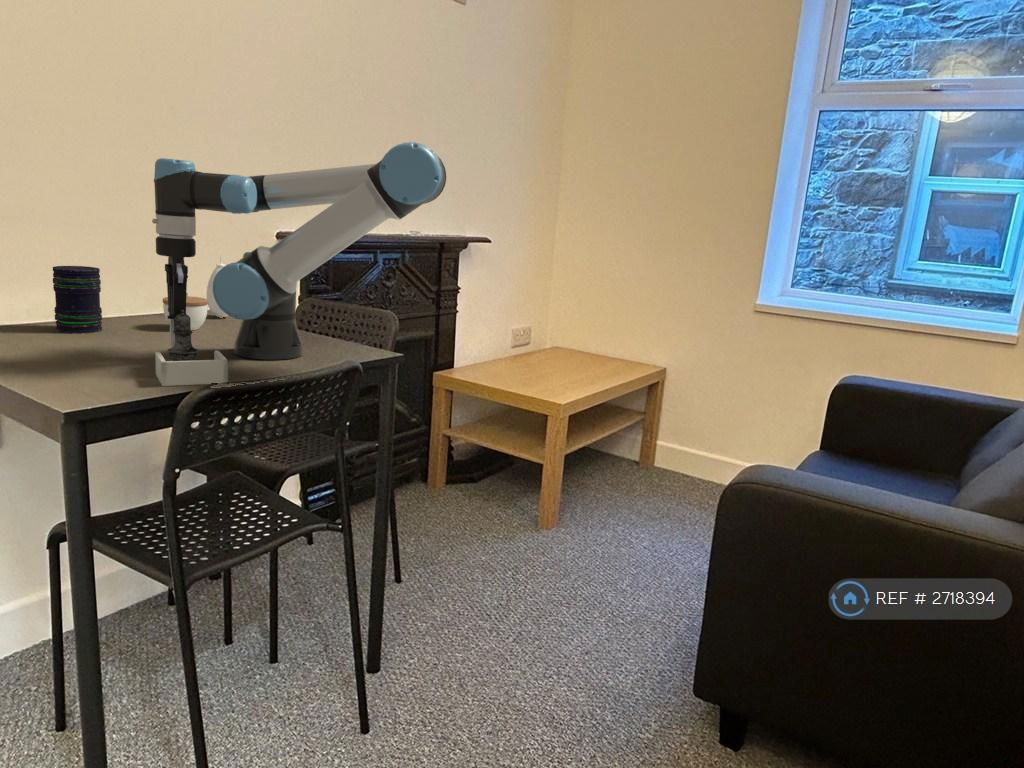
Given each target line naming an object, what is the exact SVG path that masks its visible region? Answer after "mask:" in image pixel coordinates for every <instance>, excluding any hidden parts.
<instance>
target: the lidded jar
mask: <svg viewBox="0 0 1024 768" xmlns="http://www.w3.org/2000/svg"><path fill="white" fill-rule="evenodd" d="M162 303H163V306H162V307H163V309H162V310H163V315H164V318H165V320H166V322H167V323H168V324H169V325H170V319H168V317H167V316H170V315H169V313H170V312H168V296H166V297H163V298H162ZM208 309H209V306H208V300H207V298H204V297H198V296H188V292H186V315H188V316H189V317H190V322H191V331H197V329H198V330H199V329H200V327H202V325H204V323H205V322H206V319H207V316H208Z"/></svg>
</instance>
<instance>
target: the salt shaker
mask: <svg viewBox="0 0 1024 768" xmlns="http://www.w3.org/2000/svg"><path fill="white" fill-rule="evenodd" d="M181 312H182V313H181V314H179V315H177V316H176V317H175V331H173V333H175V344H174V347H173V348H168V349H167V352H168V353H169V355H168V356H169V357H170V359H171V361H196V358H197V357H198V352H199V349H198V348H196V347H194V346H193V344H192V334H193V330H191V322H190V317H189V316H188V315H186V314H184V310H182V311H181Z"/></svg>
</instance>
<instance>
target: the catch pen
mask: <svg viewBox="0 0 1024 768" xmlns="http://www.w3.org/2000/svg"><path fill="white" fill-rule="evenodd" d="M213 351H214V352H213V355H214V357H213V359H203V360H201V359H199V360H196V359H195V360H194V361H173V360H167V361H166V359H165V358H164V356H163V355H162V353H161V352H160V351H154V354H155V356H154V357H155V375H156V377H157V379H158V381H159V383H160V384H161V386H162V387H169V386H189V385H191V386H192V385H193V386H194V385H212V384H211V383H218V382H228V383H229V360H228V358H226V357H225V356H224V355H223V354H222V353H221V351H220V350H213ZM218 384H219V383H218Z"/></svg>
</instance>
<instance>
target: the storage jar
mask: <svg viewBox="0 0 1024 768" xmlns="http://www.w3.org/2000/svg"><path fill="white" fill-rule="evenodd" d="M100 270H101V269H100V268H99V267H94V266H86V265H85V266H83V265H56V266H52V271H53V274H52V277H53V278H52V284H53V287H52V289H53V291H54V295H55V307H54V310H53V311H54V321H55V324H56V327H55V330H56V332H58V333H62V332H63V334H73V333H74V334H75V333H76V334H77V335H78V334H79V335H81V334H82V333H85V334H95V333H94V332H96V333H100V332H102V331H103V327H102V324H103V322H102V320H103V310H102V307H101V300H100V299H101V298H100V297H101V295H100V293H101V290H102V288H101V287H102V286H101V284H102V279H101V275H100V272H101V271H100ZM99 331H100V332H99Z"/></svg>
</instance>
